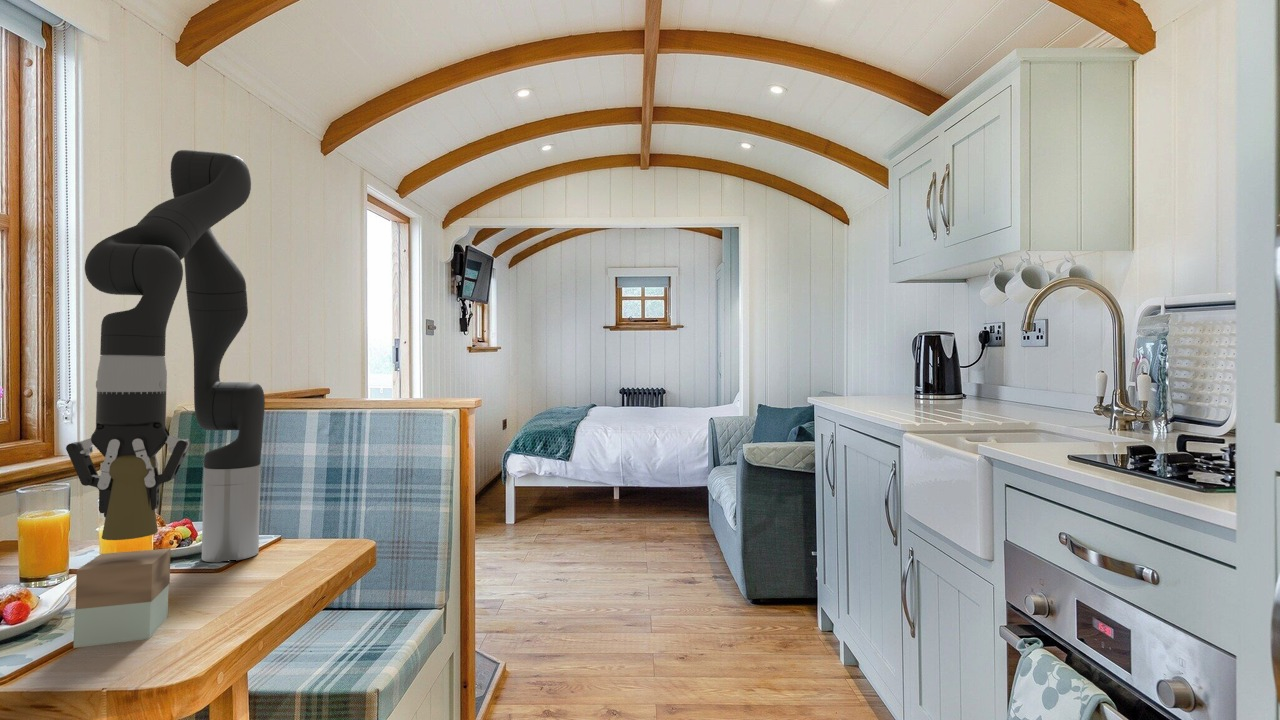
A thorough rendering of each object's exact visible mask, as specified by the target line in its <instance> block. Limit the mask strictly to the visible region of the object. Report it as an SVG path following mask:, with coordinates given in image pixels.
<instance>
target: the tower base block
mask: <svg viewBox="0 0 1280 720" xmlns="http://www.w3.org/2000/svg"><path fill="white" fill-rule="evenodd" d="M169 585H170V584H169ZM169 585H168V586H167V587H166V588H165V589H164V590H163V591H162V592H161V593H160V594H159V595H158V596H157V597H156V598H155V599H154V600H153V601H152V602H144V603H135V604H125V605H115V606H105V607H95V608H85V609H76V608H75V609H74V617H73V619H74V620H73V623H74V624H73V649H75V648H84V647H91V646H93V647H94V646H99V645H100V646H101V645H110V644H115V643H117V644H118V643H124V642H135V641H142V640H150V639H151V637H152V636H154V634H155V633H156V632H157V631H158V630H159V628H160V627H161V626H162V625H163V624H164V622H165V621H166V620H167V619H168V617H169Z"/></svg>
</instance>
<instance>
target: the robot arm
mask: <svg viewBox="0 0 1280 720" xmlns="http://www.w3.org/2000/svg"><path fill="white" fill-rule="evenodd" d="M170 182H171V188H172V193H173V198H170V199H168V200H166V201H164V202H161V203H160V204H157V205H156V206H155V207H154V208H152V209H150V211H148V212H147V213H146V215H145V216H143V217H142V219H141V220H140V221H138V223H137V224H136V225H134V226H131V227H128V228H125V229H123V230H121V231H119V232H117V233H114V234H111V235H110V236H108V237H106V238H104V239H102V240H101V241H99V242H98V243H96V244H95V245H94V246H93V247H92V249H91V250H90V251H89V253H87V257H86V259H85V263H84V273H85V277H86V279H87V281H88V282H89V284H90V285H91V286H92V287H93V288H94V289H96V290H98V291H100V293H101V292H102V293H103V294H108V295H114V296H115V295H119V296H120V295H121V296H141V298H140V299H139V301H138V303H137V304H136V306H134V307H133V308H131V309H127V310H121V311H116V312H110V313H108V314H106V315H105V316H103V318H102V321H101V325H100V351H99V353H100V356H99V363H98V368H97V373H96V375H97V376H96V382H95V389H96V405H95V406H96V407H95V408H96V409H95V430H94V431H93V432H92V434H91V436H90V438H87V439H83V440H81V441H75V442H71V443H68V444H67V445H66V447H65V450H66V452H67V454H68V457H69V458H70V461H71V463H72V466H73V468H74V470H75V473H76V475H77V477H78V479H79V482H80V483H81V485H82V486H85V487H86V486H89V487H90V486H91V487H95V488H96V489H97V490H98V512H99V513H100V514H103V517H104V518H106V514H107V509H108V505H109V500H110V495H111V486H112V481H113V479H112V478H111V476H110V475H109V470H110V465H111V463H112V462H113V461H114V460H115V459H116V458H117V457H118V456H124V455H136V457H139V458H142V459H143V460H144V461H145V464H146V469H147V470H149V473H148V475H147V476H146V477H145V478H144V481H145V485H146V486H147V487H149V488H146V490H147V497H148V503H149V502H150V499H151V507H152V510H155V511H156V510H157V509H158V508H159V506H160V488H161V486H162V484H164V483H167V482H169V481H171V480H174V479H175V478H176V477H177V475H178V473H179V471H180V468H181V466H182V464H183V462H184V460H185V457H186V455H187V453H188V450H189V449H190V446H191V444H192V441H191V439H189V438H183V439H182V438H178V437H175V436H172V435H170V432H169V430H168V429H167V426H166V423H167V422H166V421H167V419H166V416H167V388H168V387H167V383H168V381H167V380H168V377H167V376H168V374H167V373H168V372H167V365H166V357H165V356H166V336H167V334H166V333H167V325H168V322H169V320H170V319H169V318H170V315H171V313H172V310H173V306H174V304H175V303H174V302H175V300H176V298H177V296H178V293H179V291H180V288H181V285H182V282H183V276H184V275H185V289H186V300H187V308H188V317H189V323H190V324H189V325H190V333H191V339H192V350H193V351H192V352H193V400H194V401H193V402H194V404H193V405H194V406H193V407H194V414H195V418H196V422H197V423H198V426H199V427H200V428H201V429H203V430H204V431H205V430H206V431H238V434H237V437H236V439H235V440H233V441H232V442H230V443H228V444H227V445H224V446H221V447H218V448H214V449H212V450H209V451H207V452H206V453H205V454H204V456H203V480H202V481H203V489H202V492H203V493H202V526H201V533H202V536H201V561H204V562H207V563H222V562H221V561H228V560H236V561H241V560H246V559H248V558H249V559H250V558H252V557H254V556H256V555H258V554H259V550H260V549H259V548H260V547H259V545H260V544H259V543H260V507H261V506H260V502H261V501H260V500H261V464H262V463H261V460H262V459H261V458H262V451H263V450H262V447H263V427H264V419H265V417H264V416H265V408H266V407H265V405H266V404H265V403H266V401H265V400H266V399H265V393H264V389H263V387H262V386H261V384H260V383H257V382H252V381H251V382H246V381H245V382H244V381H243V382H242V381H241V382H240V381H238V382H237V381H234V382H233V381H228V382H227V381H221V380H220V379H221V378H220V370H221V365H222V361H223V358H224V356H225V354H226V352H227V351H228V349H229V347H230V345H231V344H232V342H234V340H235V338H236V336H237V335H238V334H239V333H240V331H241V329H242V328H243V326H244V324H245V323H246V320H247V317H248V313H249V310H248V309H249V306H248V293H247V282H246V279H245V277H244V275H243V272H241V270H240V268H239V267H238V266H237V264H236V263H235V262H234V260H233V259H232V258H231V256H229V254H228V253H227V251H226V250H225V249H224V248H223V246H222V245H221V244H220V242H219V241H218V239H217V238H216V236H215V235H214V233H213V231H212V229H211V228H213V226H215V225H217V224H218V223H219V222H220V221H222V220H224V219H225V218H226V217H228V216H229V215H231V214H232V213H233V212H235V211H237V210H238V209H239V208H241V207H242V206H243V205H244V204H246V202H247V200H248V199H249V198H250V197H249V196H250V194H251V191H252V178H251V173H250V170H249V167H248V164H247V163H246V162H245V161H244V159H242V158H241V157H240V156H239V155H234V154H231V153H226V152H214V151H205V150H203V151H202V150H190V149H181V150H178V151H176V152H174V154H173V155H172V158H171V162H170ZM182 260H184V262H183V263H184V266H183V264H182ZM183 267H184V268H183ZM166 444H167V446H168V448H167V450H168V453H170V457H169V459H168V461H167V464H166V465H165V467H164V470H163V472H162V473H160V471H159V462H158V458H157V454H158V453H159V451H161V449H162V448H163V447H164V446H165V445H166ZM93 447H95V448H96V450H98V452H99V453H100V454H101V455H103V457H104V460H103V463H102V465H101V469H100V475H99V474H98V472H97V470H96V467H95V464H94V462H93V460H92V458H91V456H90V455H91V454H93V452H94V451H93ZM152 457H154V459H155V462H156V467H155V471H154V468H153V467H152V465H151V462H150V459H149V458H152ZM109 463H110V464H109Z"/></svg>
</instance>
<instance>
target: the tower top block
mask: <svg viewBox="0 0 1280 720" xmlns="http://www.w3.org/2000/svg"><path fill="white" fill-rule="evenodd" d="M75 576H76V579H75V580H76V582H75V584H76V585H75V609H85V608H95V607H105V606H115V605H125V604H135V603H144V602H152V601H153V600H154V599H155V598H156V597H157V596H158V595H159V594H160V593H161V592H162V591H163V590H164V589H165V588H166V587H167V586H168V585H170V584H171V583H170V581H171V548H159V549H147V550H146V549H145V550H134V551H120V552H119V551H118V552H108V553H107V552H106V553H100V554H99V555H97V556H96V557H95V558H93V559H91V560H90V561H88V562H87V563H85V564H84V565H82V566H81V567H79V568H77V569H76V575H75Z"/></svg>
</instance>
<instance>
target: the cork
mask: <svg viewBox="0 0 1280 720" xmlns="http://www.w3.org/2000/svg"><path fill="white" fill-rule="evenodd" d="M149 459H150V462H151V465H152V467H153V468H154V471H155V467H156V462H155V459H154V457H152V458H149ZM109 464H110V463H109ZM148 473H149V470H147V469H146V464H145V461H144V460H143V459H142V458H139V457H136V455H124V456H118V457H117V458H116V459H115V460H114V461H113V462H112V463H111V465H110V470H109V475H110V476H111V478H112V479H113V481H112V486H111V495H110V500H109V505H108V509H107V514H106V517H104V518H105V519H104V523H103V527H102V528H103V529H102V533H101V534H102V535H101V539H102V540H105V541H124V540H133V539H140V538H145V537H149V536H152V535H153V536H154V535H155V534H157V533H158V532H159V529H158V523H157V515H156V509H155V510H152V507H151V499H150V502H149V503H148V497H147V490H146V488H149V487H147V486H146V485H145V481H144V478H145V477H146V476H147V475H148Z"/></svg>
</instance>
